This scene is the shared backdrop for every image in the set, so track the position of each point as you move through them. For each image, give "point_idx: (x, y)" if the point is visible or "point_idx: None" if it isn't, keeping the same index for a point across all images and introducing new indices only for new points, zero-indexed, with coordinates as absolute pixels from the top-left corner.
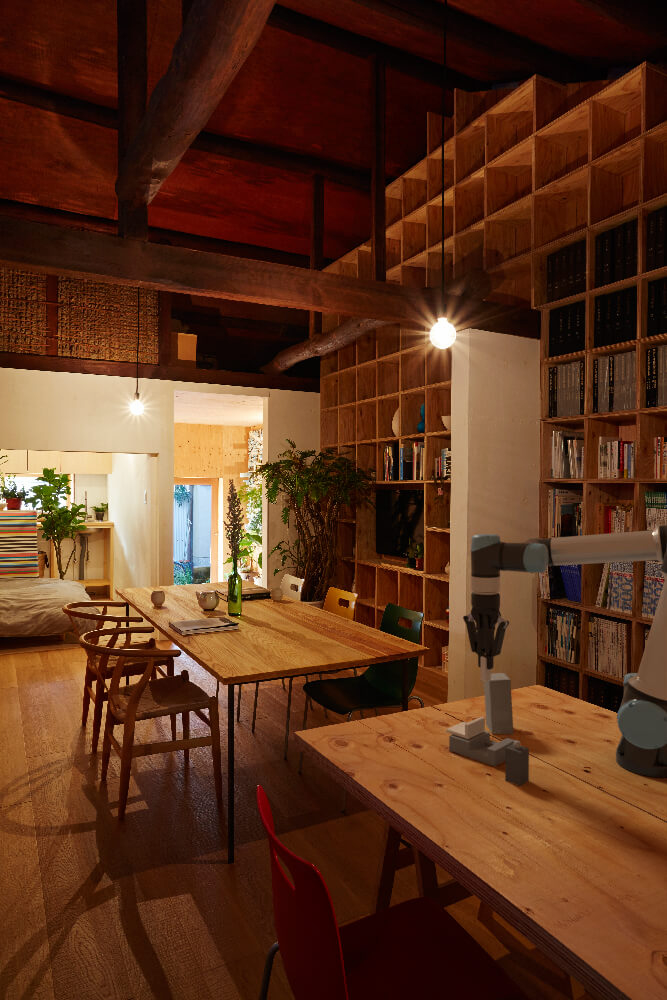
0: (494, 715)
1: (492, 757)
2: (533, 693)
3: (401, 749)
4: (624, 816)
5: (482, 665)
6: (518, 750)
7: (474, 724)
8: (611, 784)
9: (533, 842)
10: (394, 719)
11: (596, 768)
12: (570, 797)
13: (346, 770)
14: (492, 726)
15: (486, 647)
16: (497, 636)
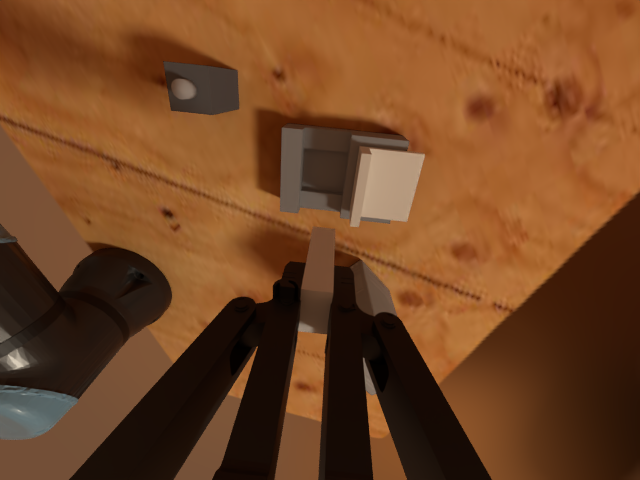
0: (360, 283)
1: (290, 125)
2: (374, 419)
3: (511, 59)
4: (18, 78)
5: (323, 263)
6: (175, 73)
7: (356, 181)
8: (113, 189)
9: None
10: (580, 214)
11: (164, 232)
12: (115, 87)
13: None
14: (361, 267)
15: (285, 337)
16: (141, 424)
